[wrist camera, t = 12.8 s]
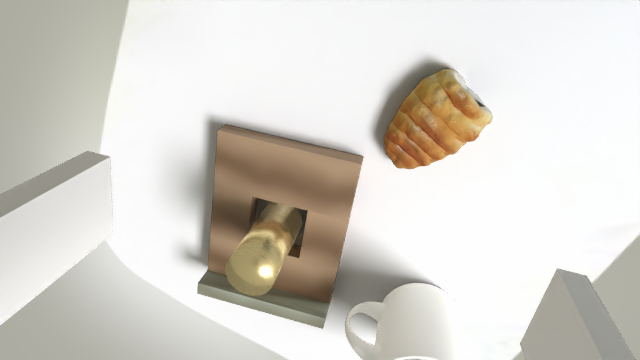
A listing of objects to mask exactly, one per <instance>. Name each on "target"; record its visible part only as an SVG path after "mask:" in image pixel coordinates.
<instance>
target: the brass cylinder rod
mask: <svg viewBox="0 0 640 360" xmlns="http://www.w3.org/2000/svg"><path fill="white" fill-rule="evenodd" d="M301 227H302V216H301V214H300V212H299V210H298V209H297V208H295V207H291V206H287V205H283V204H279V203H275V202H271V203H269V204H268V205H267V206H266V207H265V208H264V210H263V211H262V213H261V214H260V216H259V217H258V218H257V220H256V221H255V223H254V224H253V226H252V227H251V228H250V230H249V231H248V233H247V234H246V236H245V237H244V238H243V240H242V241H241V243H240V244H239V246H238V247H237V248H236V250H235V251H234V253H233V254H232V256H231V257H230V258H229V260H228V261H227V263H226V267H225V273H226V277H227V279H228V281H229V283H230V284H231V285H232V286H233V287H234V288H235V289H236V290H238V291H239V292H241V293H243V294H246V295H251V296H259V295H263V294H265V293H267V292H268V291H269V290H270V289H271V288H272V286H273V284H274V282H275V280H276V278H277V276H278V274H279V272H280V270H281V268H282V265H283V263H284V261H285V259H286V257H287V255H288V253H289V251H290V249H291V247H292V245H293V243H294V241H295V239H296V237H297V235H298V233H299V231H300V229H301Z"/></svg>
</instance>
